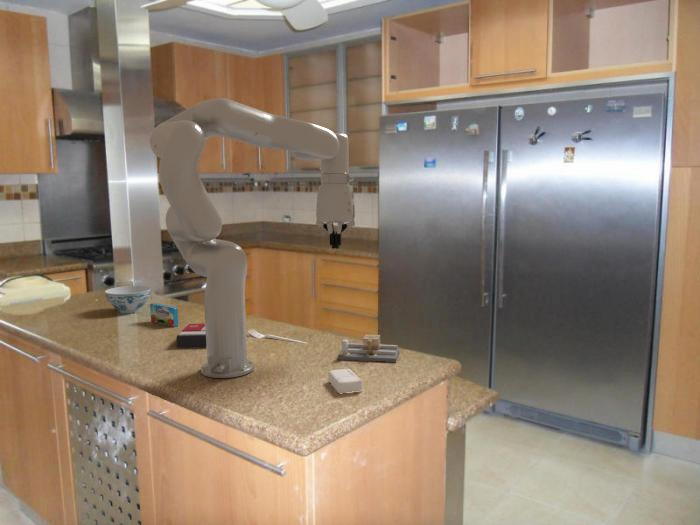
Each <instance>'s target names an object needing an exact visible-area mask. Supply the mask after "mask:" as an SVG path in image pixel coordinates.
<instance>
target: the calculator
mask: <svg viewBox="0 0 700 525" xmlns="http://www.w3.org/2000/svg"><path fill="white" fill-rule="evenodd" d="M194 347H196V348H206V327H205V323H188V325H186V326H185V327H184V328H183V329H182V330H181V331H180V333H178V334H177V335H176V348H177V349H184V348H185V349H188V348H190V349H191V348H193V349H194Z"/></svg>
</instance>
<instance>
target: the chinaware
mask: <svg viewBox="0 0 700 525" xmlns="http://www.w3.org/2000/svg"><path fill="white" fill-rule="evenodd" d="M151 291H152V290H151V287H150V286H144V285H126V286H117V287H112V288H108V289H106V290H105V291H104V294H105V297H106V299H107V300H106V301H108V303H109V304H110V305H111V306H112V307H113V308H114V309H116V310H118V313H120V312H121V313H120V314H134V313H133V312H135V313H138V312H140V309H141V308H142V307H144V305H146V303H147V302H148V300H149V297H150V294H151ZM137 311H138V312H137Z"/></svg>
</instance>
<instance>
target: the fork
mask: <svg viewBox="0 0 700 525" xmlns="http://www.w3.org/2000/svg"><path fill="white" fill-rule="evenodd" d="M247 332H248V333H249V334H250V335H251V336H252V337H253V338H258V339H266V338H269V339H273V340H278V341H279V340H280V341H283V342H284V341H285V342H293V343H299V344H300V343H301V344H307V342H304V341H300V340H297V339H292V338H286V337H282V336H277V335H273V334H262V333H259V332H258V331H256V330H255V329H254V328H251V329H248V330H247Z"/></svg>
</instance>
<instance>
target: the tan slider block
mask: <svg viewBox="0 0 700 525" xmlns="http://www.w3.org/2000/svg"><path fill="white" fill-rule="evenodd" d="M362 344H363V350H367V354H372V350H380V345H381V335H380V334H365V335H364V336H363V338H362Z"/></svg>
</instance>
